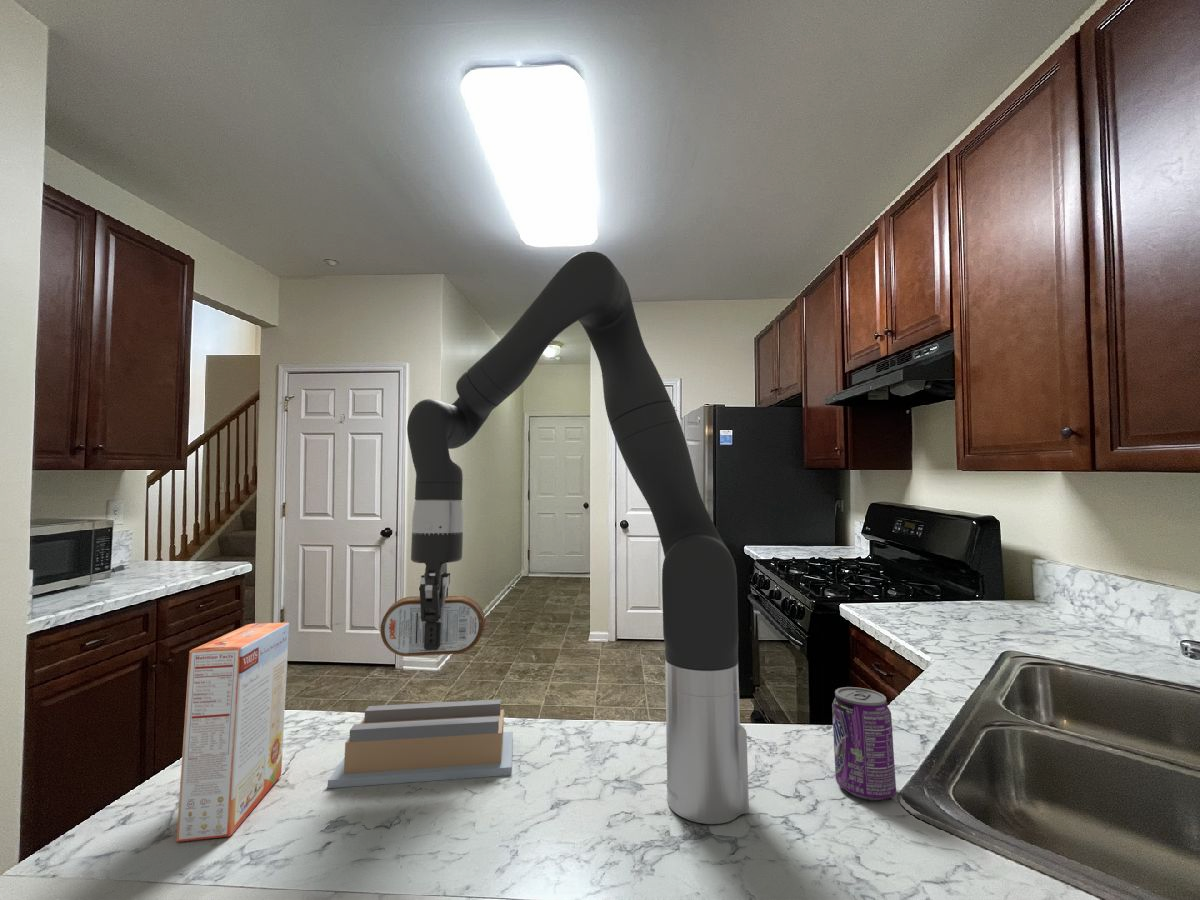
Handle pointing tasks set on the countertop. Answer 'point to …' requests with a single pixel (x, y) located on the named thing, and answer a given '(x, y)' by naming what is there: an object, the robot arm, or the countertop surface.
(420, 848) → the countertop surface
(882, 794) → the beverage can
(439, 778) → the grey tan slotted stand
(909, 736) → the countertop surface
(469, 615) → the tin
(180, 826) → the cracker box
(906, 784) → the countertop surface
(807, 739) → the countertop surface
